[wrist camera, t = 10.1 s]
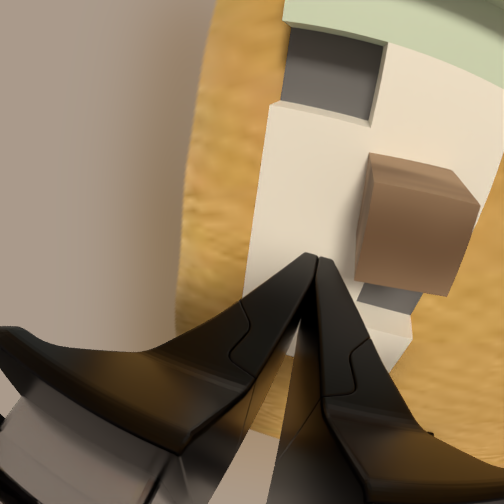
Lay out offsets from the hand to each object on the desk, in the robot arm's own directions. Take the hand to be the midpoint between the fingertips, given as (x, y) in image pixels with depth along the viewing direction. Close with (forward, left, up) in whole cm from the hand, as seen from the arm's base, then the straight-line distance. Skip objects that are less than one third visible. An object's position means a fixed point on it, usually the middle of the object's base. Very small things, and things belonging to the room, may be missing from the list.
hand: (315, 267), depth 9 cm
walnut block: (0, -3, -6) cm, 7 cm away
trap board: (0, -2, -9) cm, 9 cm away
